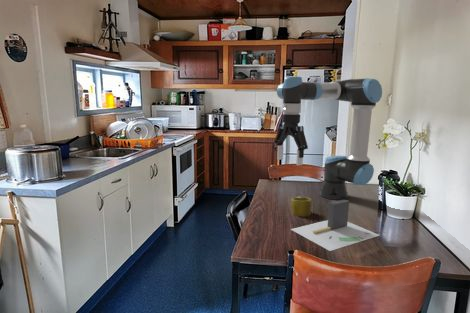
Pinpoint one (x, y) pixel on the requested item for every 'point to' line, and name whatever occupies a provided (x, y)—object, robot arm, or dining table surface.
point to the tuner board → (334, 235)
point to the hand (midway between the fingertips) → (289, 162)
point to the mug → (301, 206)
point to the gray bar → (336, 215)
